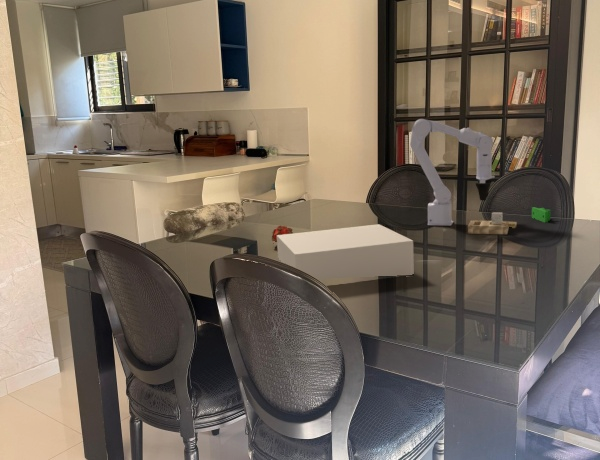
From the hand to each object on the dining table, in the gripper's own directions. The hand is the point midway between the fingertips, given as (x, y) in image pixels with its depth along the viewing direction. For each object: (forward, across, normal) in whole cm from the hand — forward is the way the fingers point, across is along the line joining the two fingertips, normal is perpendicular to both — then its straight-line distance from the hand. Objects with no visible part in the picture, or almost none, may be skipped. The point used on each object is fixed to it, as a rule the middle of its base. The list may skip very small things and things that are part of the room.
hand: (483, 198), depth 230 cm
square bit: (+10, -16, -6) cm, 20 cm away
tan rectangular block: (+10, -7, -10) cm, 16 cm away
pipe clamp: (+10, +8, -22) cm, 26 cm away
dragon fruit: (+10, -51, +67) cm, 85 cm away
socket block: (+10, -16, -3) cm, 19 cm away
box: (+11, -78, +35) cm, 86 cm away
